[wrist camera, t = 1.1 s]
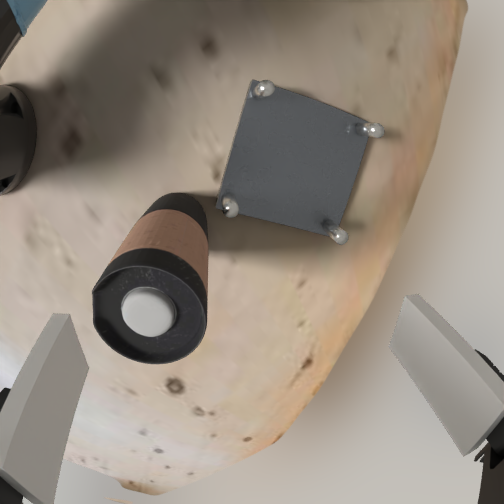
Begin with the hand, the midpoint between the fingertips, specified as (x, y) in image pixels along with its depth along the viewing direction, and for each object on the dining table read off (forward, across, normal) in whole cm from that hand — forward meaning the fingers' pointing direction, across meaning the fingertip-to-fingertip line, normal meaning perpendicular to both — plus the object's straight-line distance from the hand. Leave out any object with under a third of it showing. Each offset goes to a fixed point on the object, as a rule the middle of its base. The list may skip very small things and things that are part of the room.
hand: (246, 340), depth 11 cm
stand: (+26, +9, +3) cm, 28 cm away
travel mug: (+27, -5, -4) cm, 27 cm away
